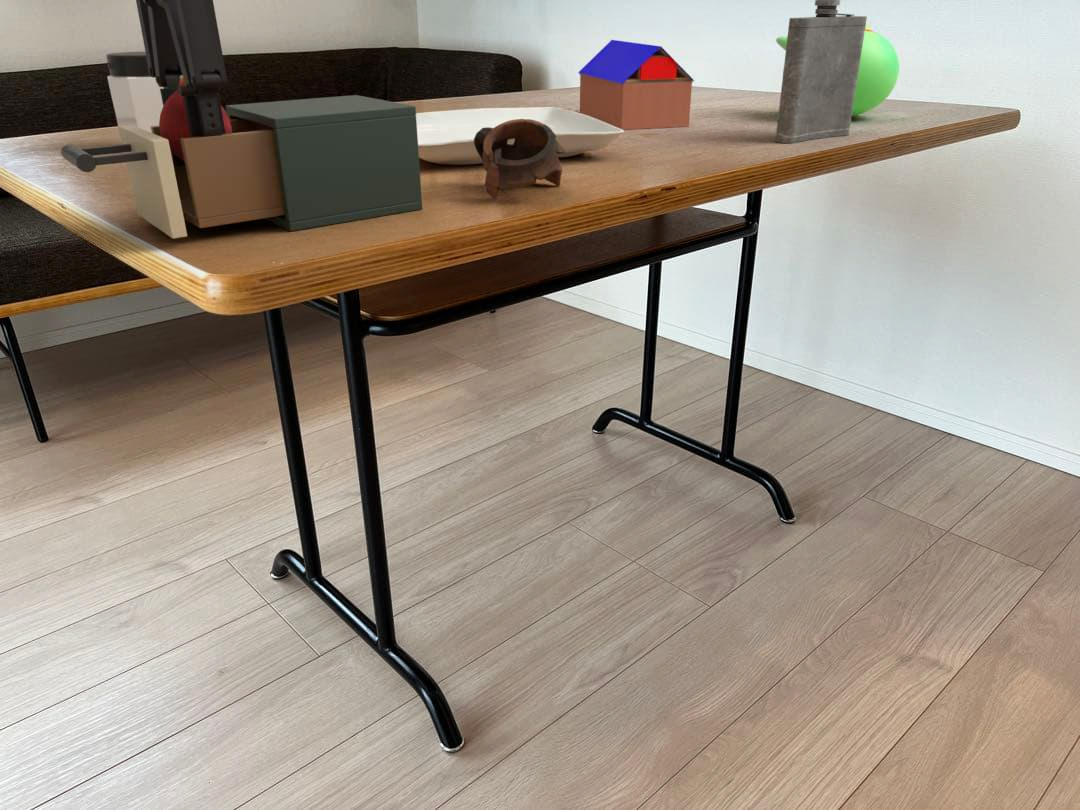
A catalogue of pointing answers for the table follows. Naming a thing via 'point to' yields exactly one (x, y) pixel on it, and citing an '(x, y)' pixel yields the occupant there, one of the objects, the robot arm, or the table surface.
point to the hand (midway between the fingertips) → (202, 168)
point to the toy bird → (871, 71)
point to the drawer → (195, 175)
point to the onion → (179, 122)
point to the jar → (134, 90)
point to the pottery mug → (518, 155)
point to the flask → (820, 74)
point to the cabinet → (341, 157)
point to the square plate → (455, 130)
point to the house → (635, 87)
